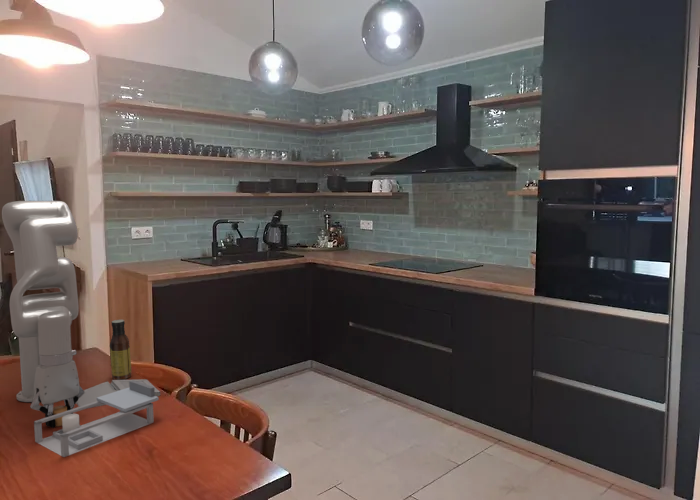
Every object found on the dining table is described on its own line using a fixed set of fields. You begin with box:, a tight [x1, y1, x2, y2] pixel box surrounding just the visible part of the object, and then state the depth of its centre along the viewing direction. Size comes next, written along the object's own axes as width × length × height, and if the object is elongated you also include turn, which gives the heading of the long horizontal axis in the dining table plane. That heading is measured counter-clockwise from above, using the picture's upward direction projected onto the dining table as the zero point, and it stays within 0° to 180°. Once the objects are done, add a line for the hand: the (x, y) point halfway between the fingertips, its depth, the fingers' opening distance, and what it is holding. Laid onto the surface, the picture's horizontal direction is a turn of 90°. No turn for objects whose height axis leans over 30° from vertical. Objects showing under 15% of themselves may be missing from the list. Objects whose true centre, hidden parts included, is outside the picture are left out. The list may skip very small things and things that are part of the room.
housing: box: [33, 401, 155, 458], centre depth 140 cm, size 14×24×6 cm, turn 145°
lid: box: [96, 379, 160, 412], centre depth 147 cm, size 13×10×3 cm
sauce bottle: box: [109, 319, 132, 380], centre depth 183 cm, size 6×6×20 cm
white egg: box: [62, 413, 80, 435], centre depth 137 cm, size 4×4×5 cm
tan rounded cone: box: [53, 405, 67, 428], centre depth 145 cm, size 4×4×5 cm
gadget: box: [75, 378, 161, 410], centre depth 167 cm, size 23×15×4 cm, turn 127°
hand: (59, 424), depth 145 cm, fingers closed on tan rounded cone, 3 cm apart
